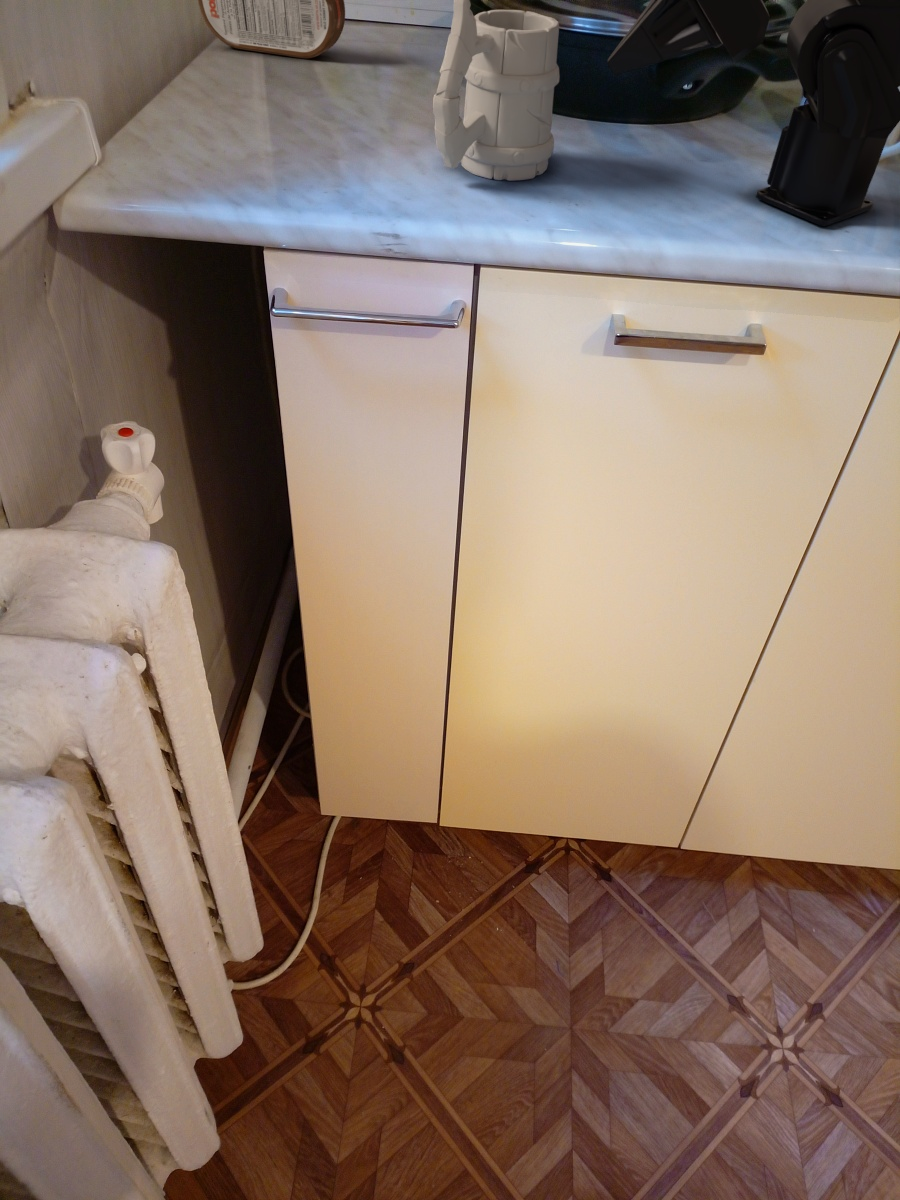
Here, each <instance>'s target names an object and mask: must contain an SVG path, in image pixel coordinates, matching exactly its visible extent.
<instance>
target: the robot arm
mask: <svg viewBox="0 0 900 1200" xmlns="http://www.w3.org/2000/svg"><path fill="white" fill-rule="evenodd" d="M768 1H769V0H650V1H649V3H648V4H647V6H646V7H645V9H643V11H642V13H641V14H640V16H639V17H638V18H637V19H636V20H635V22H634V23H633V25H632V26H631V27H630V28H629V30H628V31H627V32H626V34H625V35H624V36H623V38H622V39H621V41H620V42H619V44H617V46H616V48H615V49H614V50H613V51H612V53H611V54H610V56H609V57H608V58H607V61H606V66H607V67H608V69H609V71H610V72H611V73H612V75H613V76H615V77H617V76H621V75H623V74H626V73H629V72H634V71H636V70H639V69H642V68H646V67H648V66H652V65H655V64H658V63H661V62H665V61H668V60H671V59H674V58H678V57H681V56H685V55H688V54H691V53H695V52H699V51H702V50H706V49H709V48H715V49H716V48H719V47H721V46H722V45H723V47H724V48H725V49H726V51H727V53H728V55H729V56H730V58H731V59H732V62H734V64H735V65H736V64H738V63H739V62H740V61H741V60H743V59H744V58H745V57H747V56H748V55H749V54H750V53H752V51H754V50H755V49H757V48H758V46H760V45H761V44H762V43H764V41H765V37H766V35H767V34H766V33H767V29H768V26H769V22H770V18H771V16H770V14H769V11H768V9H767V7H766V5H765V3H767V2H768ZM786 46H787V47H786V52H787V55H788V59H789V61H790V64H791V66H792V68H793V70H794V73H795V74H796V77H797V79H798V81H799V84H800V86H801V88H802V96H803V98H804V99H806V101H807V103H806V104H801V105H797V106H794V107H793V110H792V113H791V116H790V119H789V123H788V125H786V126H784V127H783V128H782V129H781V132H780V136H779V140H778V142H777V146H776V149H775V153H774V155H773V159H772V163H771V166H770V170H769V174H768V176H767V180H766V182H767V185H768V186H766V187H763V188H760V189H757V191H756V192H755V193H756V194H755V198H756V199H757V200H760V201H762V202H764V203H766V204H769V205H771V206H773V207H776V208H778V209H780V210H783V211H784V212H787V213H790V214H792V215H795V216H797V217H799V218H801V219H803V220H806V221H809V222H811V223H813V224H815V225H818V226H822V227H825V226H829V225H832V224H835V223H838V222H841V221H844V220H846V219H849V218H852V217H855V216H858V215H860V214H863V213H865V212H868V211H871V210H872V208H873V206H874V202H873V201H871V200H870V199H867V198H866V196H867V194H868V191H869V189H870V185H871V183H872V180H873V178H874V175H875V173H876V170H877V167H878V165H879V162H880V159H881V157H882V154H883V151H884V150H885V149H884V148H885V146H886V145H887V141H888V138H889V136H890V135H891V133H892V132H893V131H894V130H895V128H897V125H898V124H899V123H900V89H899V88H900V0H806V1H805V2H803V4H802V5H801V6H800V7H799V8H798V10H797V12H796V13H795V15H794V16H793V18H792V20H791V22H790V25H789V29H788V32H787V37H786Z"/></svg>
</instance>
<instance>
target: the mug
mask: <svg viewBox="0 0 900 1200" xmlns="http://www.w3.org/2000/svg"><path fill="white" fill-rule="evenodd" d="M471 5H472V4H471V0H453V13H452V21H451V27H450V33H449V34H448V36H447V37H448V38H447V43H446V48H445V51H444V57H443V60H442V64H441V66H440V68H439V74H440V77H439V80H438V85H437V89H436V93H434V95H433V99H432V111H433V118H434V121H435V122H434V136H435V143H436V148H437V150H438V151H440V153H441V157H442V161H443V165H444V167H445V168H447V169H457V167H458V166H459V164H461V167H462V168H463V169H465V171H467V172H468V173H470V174H472V175H475V176H477V177H482V178H485V179H489V180H491V179H494V180H495V181H502V180H507V181H525V180H532V179H534V178H535V177H536V176H540V175H542V174H543V173H545V171H546V170H547V169H548V165H549V159H550V158H551V156H552V155H553V152H554V149H555V138H554V135H553V132H552V126H553V125H552V124H553V107H554V96H555V95H554V94H555V87H556V86H557V85H558V84H559V83H560V67H559V65H558V63H557V59H558V46H559V35H560V32H559V31H560V24H559V23H560V22H559V21H557V19H556V18H554V17H551V16H547V15H543V14H540V13H537V12H534V11H530V10H529V11H528V10H527V11H525V10H521V9H490V10H487V11H482V12H478V13H477V14H475V15H474V13H473V11H472V10H471ZM464 78H465V80H466V86H465V87H466V88H465V98H464V109H463V119H462V117H461V111H460V110H461V108H460V107H461V106H460V105H461V95H460V91H461V87H462V83H463V81H464Z"/></svg>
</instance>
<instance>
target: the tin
mask: <svg viewBox="0 0 900 1200" xmlns="http://www.w3.org/2000/svg"><path fill="white" fill-rule="evenodd" d="M197 3H198V7H199V11H200V14H201V15H202V19H203V20H204V22H205V24H206V26H207V27H208V28H209V30H210V31H211V32H212V34H213V35H215V37H216V38H217V39H219V41H221V42H222V43H224V44H226V45H227V46H229V47H232V48H234V49H236V50H237V49H238V50H244V51H251V52H257V53H266V54H272V55H279V56H284V57H285V56H286V57H290V58H291V57H293V58H297V59H312V58H313V59H314V58H316V57H318V56H320V55H323V53H324V52H326V51H328V50H329V49H332V47H334V45H336V43H337V42H338V40H339V39H340V37H341V35H342V33H343V30H344V27H345V21H346V6H345V5H346V4H345V0H197Z"/></svg>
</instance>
